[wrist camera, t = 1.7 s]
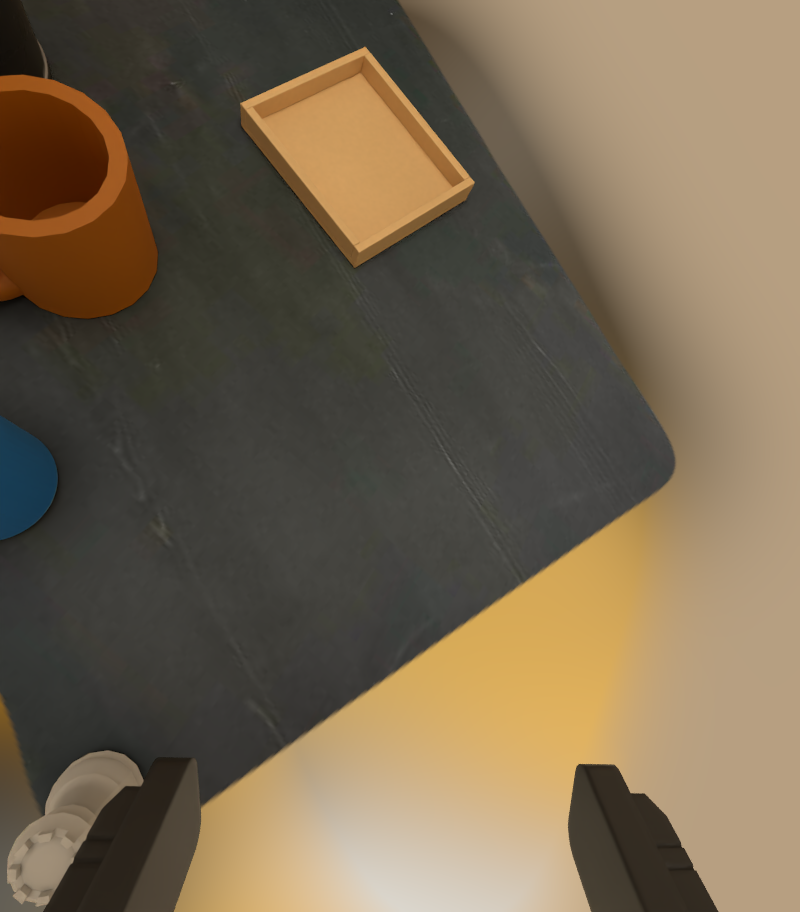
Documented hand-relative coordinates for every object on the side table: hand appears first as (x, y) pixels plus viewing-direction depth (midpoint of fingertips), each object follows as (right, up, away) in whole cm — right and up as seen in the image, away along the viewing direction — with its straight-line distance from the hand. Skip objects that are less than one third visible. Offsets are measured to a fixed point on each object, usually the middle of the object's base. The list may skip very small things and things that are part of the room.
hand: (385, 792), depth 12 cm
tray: (-3, +29, +30) cm, 41 cm away
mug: (-21, +19, +23) cm, 37 cm away
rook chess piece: (-16, -11, +18) cm, 26 cm away
